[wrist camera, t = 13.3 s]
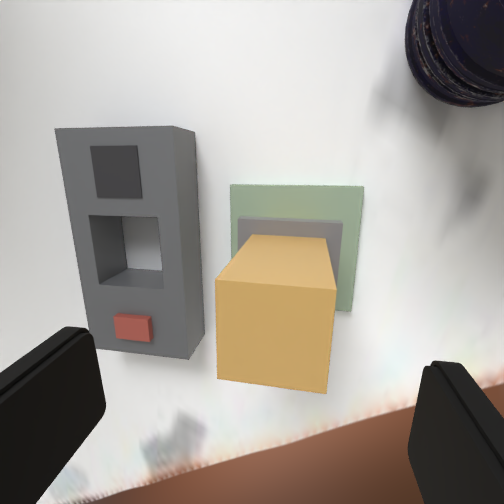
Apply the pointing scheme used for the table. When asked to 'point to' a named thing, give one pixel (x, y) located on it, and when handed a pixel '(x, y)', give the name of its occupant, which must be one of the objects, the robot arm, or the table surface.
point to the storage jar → (457, 50)
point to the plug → (279, 303)
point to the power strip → (112, 243)
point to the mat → (307, 207)
